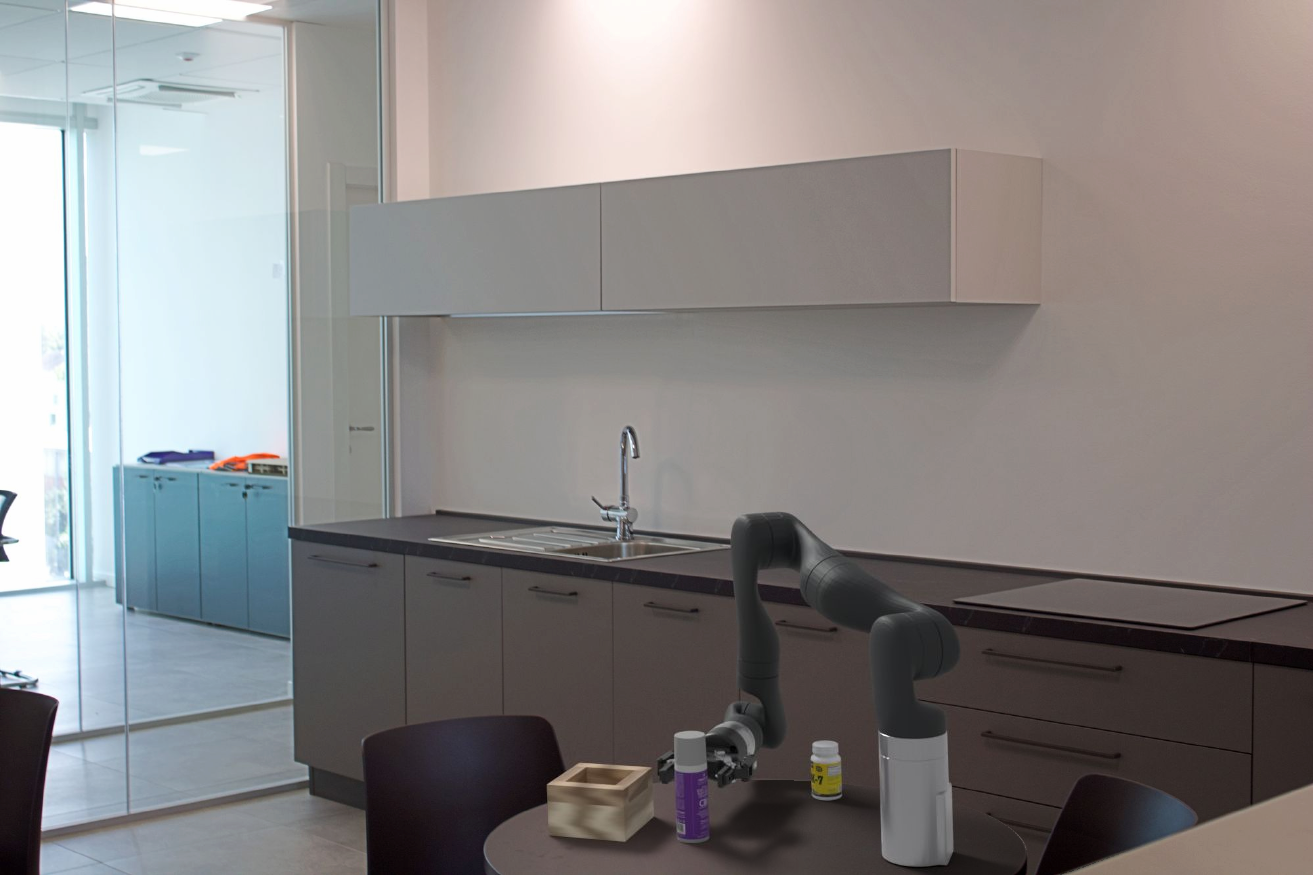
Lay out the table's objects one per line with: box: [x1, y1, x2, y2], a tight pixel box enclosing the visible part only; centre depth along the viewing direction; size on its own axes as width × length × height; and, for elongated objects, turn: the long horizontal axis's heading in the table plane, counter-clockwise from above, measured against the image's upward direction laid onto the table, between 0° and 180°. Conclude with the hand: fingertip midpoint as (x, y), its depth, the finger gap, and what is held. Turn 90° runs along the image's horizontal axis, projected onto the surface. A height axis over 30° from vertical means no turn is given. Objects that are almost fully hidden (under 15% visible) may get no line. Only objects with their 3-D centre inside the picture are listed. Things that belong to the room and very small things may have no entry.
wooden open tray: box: [546, 762, 655, 843], centre depth 206 cm, size 12×12×8 cm
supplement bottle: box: [810, 740, 843, 801], centre depth 217 cm, size 5×5×8 cm
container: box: [673, 730, 710, 844], centre depth 199 cm, size 5×5×15 cm
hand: (691, 779), depth 199 cm, fingers open, 8 cm apart
